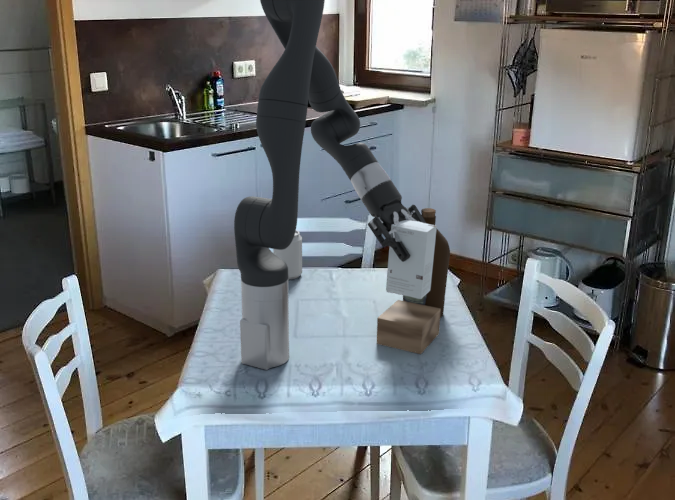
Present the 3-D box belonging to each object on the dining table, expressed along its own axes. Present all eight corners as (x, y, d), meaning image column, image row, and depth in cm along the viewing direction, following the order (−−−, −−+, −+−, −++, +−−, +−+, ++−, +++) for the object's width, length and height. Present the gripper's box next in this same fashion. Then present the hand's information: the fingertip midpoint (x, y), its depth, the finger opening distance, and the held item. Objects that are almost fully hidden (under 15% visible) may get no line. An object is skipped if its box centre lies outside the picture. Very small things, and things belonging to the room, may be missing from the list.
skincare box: (385, 292, 154) (387, 225, 149) (396, 283, 159) (399, 217, 154) (423, 300, 150) (426, 231, 145) (433, 290, 155) (437, 223, 150)
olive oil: (419, 300, 178) (424, 200, 169) (455, 313, 171) (462, 210, 162) (390, 313, 170) (394, 209, 162) (427, 327, 163) (433, 219, 155)
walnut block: (420, 354, 151) (422, 327, 149) (376, 343, 155) (377, 317, 153) (439, 333, 160) (440, 308, 158) (396, 324, 165) (397, 299, 163)
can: (304, 271, 196) (304, 228, 192) (300, 281, 189) (299, 236, 185) (276, 269, 197) (275, 227, 193) (271, 279, 190) (270, 235, 186)
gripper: (363, 185, 146) (407, 254, 143) (407, 173, 157) (449, 237, 153) (343, 205, 152) (385, 273, 148) (386, 193, 162) (427, 255, 158)
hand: (418, 255), depth 151 cm, fingers closed on skincare box, 7 cm apart
